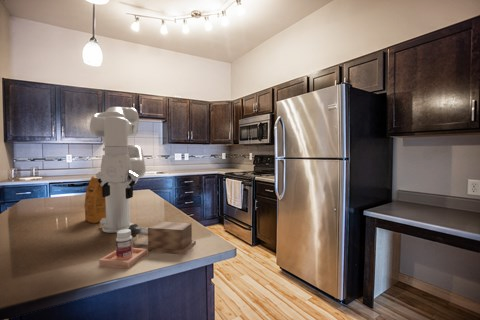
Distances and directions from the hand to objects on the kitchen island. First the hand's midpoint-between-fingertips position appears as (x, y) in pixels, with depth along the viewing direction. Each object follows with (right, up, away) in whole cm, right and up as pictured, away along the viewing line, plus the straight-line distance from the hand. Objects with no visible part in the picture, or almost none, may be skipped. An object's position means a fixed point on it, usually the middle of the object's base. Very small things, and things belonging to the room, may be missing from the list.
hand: (117, 197), depth 89 cm
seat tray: (+9, -18, -13) cm, 24 cm away
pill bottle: (+9, -17, -13) cm, 23 cm away
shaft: (+12, -15, -1) cm, 19 cm away
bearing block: (+17, -18, -2) cm, 25 cm away
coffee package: (-27, -17, +32) cm, 45 cm away
